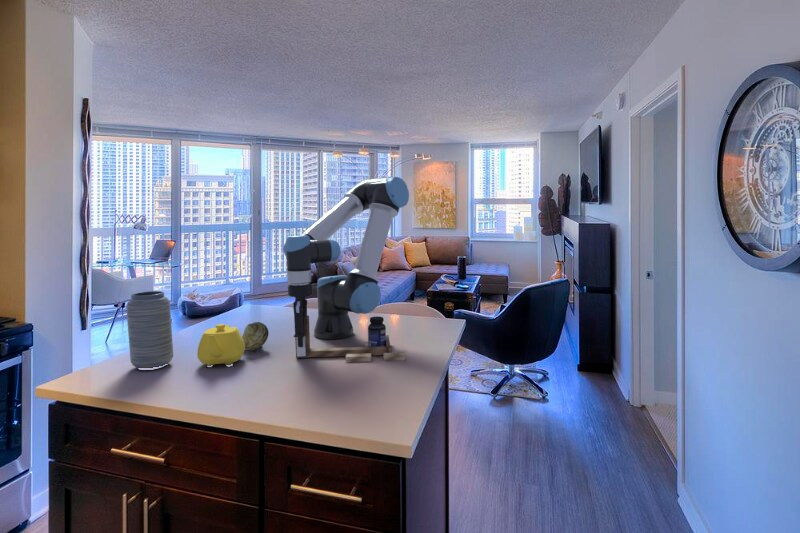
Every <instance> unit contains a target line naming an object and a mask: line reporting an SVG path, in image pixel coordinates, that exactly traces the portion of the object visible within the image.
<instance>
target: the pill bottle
mask: <svg viewBox="0 0 800 533" xmlns="http://www.w3.org/2000/svg"><path fill="white" fill-rule="evenodd" d="M369 322H370V324H368V326H367V338H368V339H367V342H368V344H367V347H381V346H386V335H387V333H386V331H387V330H386V329H387V326H386V325H385V323H384V317H383V316H371V317H369Z"/></svg>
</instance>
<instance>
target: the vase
mask: <svg viewBox="0 0 800 533" xmlns="http://www.w3.org/2000/svg"><path fill="white" fill-rule="evenodd" d="M130 296H131V297H130V299H129V300H128V301H127V303H126V304H125V305H126V307H125V309H126V319H127V331H128V332H127V334H128V346H129V358H130V363H131V365H132V366H133V367H135V368H136V367H137V368H153V367H159V366H163V365H165V364H168V363H169V364H170V363H171V362H172V360H173V358H174V346H173V345H174V343H173V342H174V341H173V329H172V328H173V327H172V326H173V325H172V314H171V302H170V299H169V298H168V297H167V296H165V292H164V291H162V290H161V291H160V290H150V291H141V292H135V293H132V294H131V295H130ZM137 368H136V369H137Z"/></svg>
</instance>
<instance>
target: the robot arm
mask: <svg viewBox="0 0 800 533" xmlns="http://www.w3.org/2000/svg"><path fill="white" fill-rule="evenodd" d="M409 198H410V192H409V189H408V185H407V183H406V182H405V180H404V179H402V178H401V177H400V176H399V177H398V176H388V177H377V178H369V179H366V180H365V179H364V180H363V181H361V182H360V183H358V184H357V185H355V186H354V187H353V188H351V189H350V190H349V191H348V192H346V193H345V194H344V195H343V198H342V200H341V201H339V203H337V204H336V205H334V207H332V209H330V210H329V211H328V212H327V213H326V214H324V215H323V216H322V217H320V218H319V219H318V220H317V221H316V222H314V224H312V225H311V226H310V227H308V228H307V230H305V231H304V232H303V233H301V235H300V234H299V235H289V236H287V237H286V240H285V243H284V245H283V250H282V251H283V254H284V256H285V257H286V269H287V270H286V278H287V279H286V281H287V283H288V285H287V295H288V297H291V298H292V297H293V298H295V300H294V301H293V303H292V304H293V307H292V308H293V315H294V316H293V317H294V320H293V321H294V335H293V338H295V337H296V343H295V345H296V344H297V357H300V356H306V348H305V334H304V316H308V300H307V299H306V297H309V296H311V295H313V294H312V293H313V289H312V288H313V287H312V284H311V283H312V276H314V273H313V272H312V265H313V264H319V263H321V264H323V263H331V262H332V263H333V262H335V261H338V259H339V258H340V256H341V246H340V244H339V242H338V241H336V240H334V239H329V238H331V237H332V236H333V235H334V234H335V233H336V232H337V231H339V230H340V229H341V228H342V227H343V226H344V225H345V224H346V223H348V222H349V221H350V220H351V219H352V218H353V217H354V216H356V215H360V214H362V213H363V212H364V211H366V210H370V214H369V218H368V221H367V224H366V227H365V230H364V235H363V237H362V240H361V244H360V247H359V251H358V253H357V258H356V261H355V264H354V268H353V269H352V270H351V271H349V272H348V273H347V275H346V274H341V275H333V276H332V275H330V276H324V277H320V278H318V279H317V283H316V284H317V286H316V292H317V293H316V295H317V318H316V322H315V325H314V331H313V336H314V337H315V338H317V339H321V340H338V339H344V338H348V337H351V336H353V335H354V328H353V325H352V321H351V318H350V316H349V312H350V313H355V314H358V315H359V314H362V315H365V314H370V313H372V312H373V311H374V310H376V308H377V307H378V305H379V303H380V302H381V296H382V295H381V294H382V293H381V288H380V286H379V285H378V284H379V279H378V278H377V273H378V270H379V267H380V262H381V260H382V255H383V253H384V252H383V251H384V248H385V246H386V242H387V238H388V235H389V232H390V229H391V225H392V222H393V219H394V218H396V217H397V216H398V214H399V212H400V208H404V207H405V206H407V205H408V202H409Z"/></svg>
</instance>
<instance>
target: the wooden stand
mask: <svg viewBox="0 0 800 533" xmlns="http://www.w3.org/2000/svg"><path fill="white" fill-rule="evenodd" d="M304 334H305V348H306V356H300V357H297V344H296V337H294V338H295V340H294V341H295V342H294V343H295V359H306V358H320V357H321V358H327V357H346V354H365V353H371V356H384V353H391V342H390V335H388V334H386V346H381V347H368V346H351V347H349V346H348V347H321V348H320V347H319V348H311V339H310V337H311V336H310V335H311V334H310V316H309V315H307V316H304Z"/></svg>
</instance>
